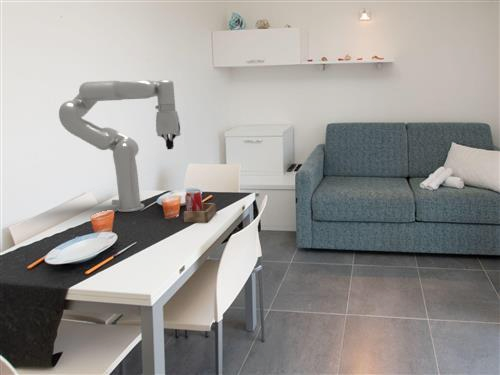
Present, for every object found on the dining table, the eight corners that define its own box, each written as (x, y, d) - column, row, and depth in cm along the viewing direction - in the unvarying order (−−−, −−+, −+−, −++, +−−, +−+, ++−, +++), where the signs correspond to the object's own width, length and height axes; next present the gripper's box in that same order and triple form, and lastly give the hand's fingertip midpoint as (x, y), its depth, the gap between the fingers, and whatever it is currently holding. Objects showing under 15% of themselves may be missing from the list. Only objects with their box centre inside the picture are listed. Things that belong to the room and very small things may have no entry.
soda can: (203, 220, 211) (201, 192, 209) (186, 221, 211) (184, 193, 208) (203, 215, 218) (201, 188, 216) (186, 217, 218) (185, 189, 215)
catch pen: (184, 222, 210) (183, 211, 209) (194, 212, 224) (193, 203, 223) (207, 222, 208) (206, 212, 207) (216, 213, 222) (215, 203, 221)
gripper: (147, 109, 224) (151, 150, 228) (179, 108, 221) (183, 150, 225) (154, 108, 231) (157, 147, 235) (185, 107, 228) (188, 147, 232)
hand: (170, 148), depth 230 cm, fingers closed
